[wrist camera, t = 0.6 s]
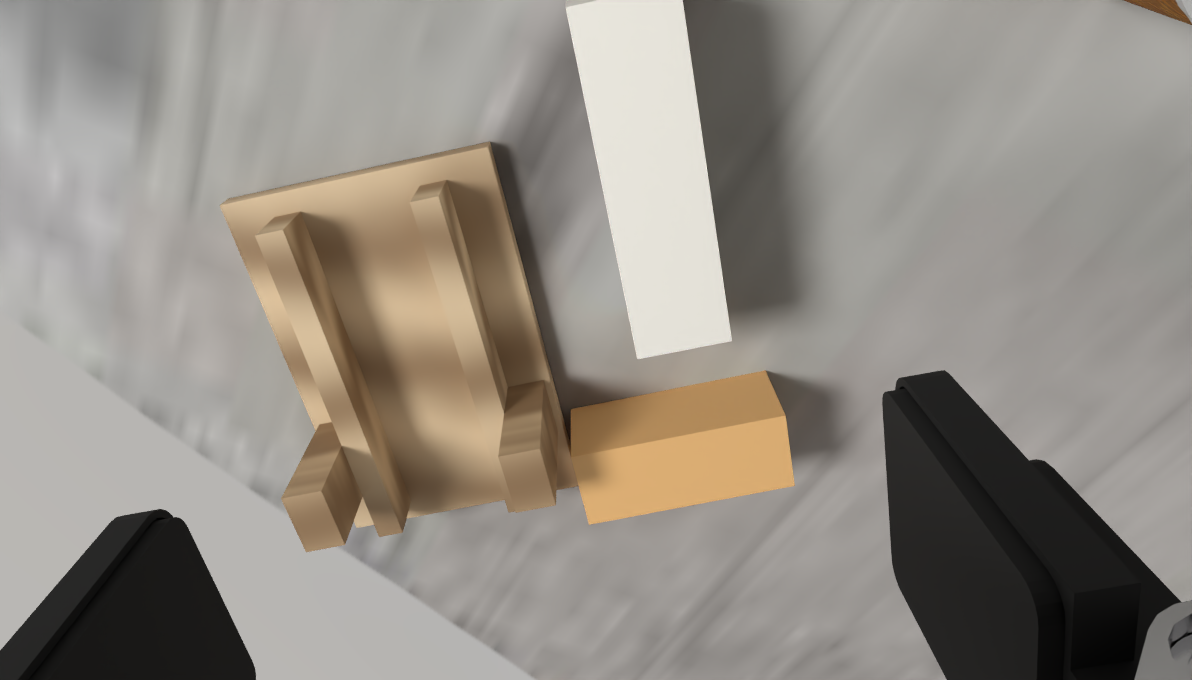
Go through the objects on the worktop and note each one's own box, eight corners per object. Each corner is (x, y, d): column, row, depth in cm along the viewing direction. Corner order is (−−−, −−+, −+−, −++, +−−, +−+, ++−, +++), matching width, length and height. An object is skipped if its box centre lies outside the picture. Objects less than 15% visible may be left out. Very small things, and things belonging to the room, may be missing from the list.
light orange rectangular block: (570, 407, 42) (570, 457, 38) (764, 368, 42) (785, 415, 38) (587, 470, 44) (589, 524, 40) (773, 434, 43) (794, 485, 39)
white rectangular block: (566, -4, 34) (565, 7, 29) (662, -26, 34) (679, -19, 28) (628, 303, 40) (637, 359, 35) (710, 287, 40) (731, 341, 34)
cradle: (228, 198, 37) (157, 253, 31) (489, 141, 36) (472, 185, 30) (361, 515, 45) (326, 611, 38) (578, 474, 44) (579, 564, 38)
